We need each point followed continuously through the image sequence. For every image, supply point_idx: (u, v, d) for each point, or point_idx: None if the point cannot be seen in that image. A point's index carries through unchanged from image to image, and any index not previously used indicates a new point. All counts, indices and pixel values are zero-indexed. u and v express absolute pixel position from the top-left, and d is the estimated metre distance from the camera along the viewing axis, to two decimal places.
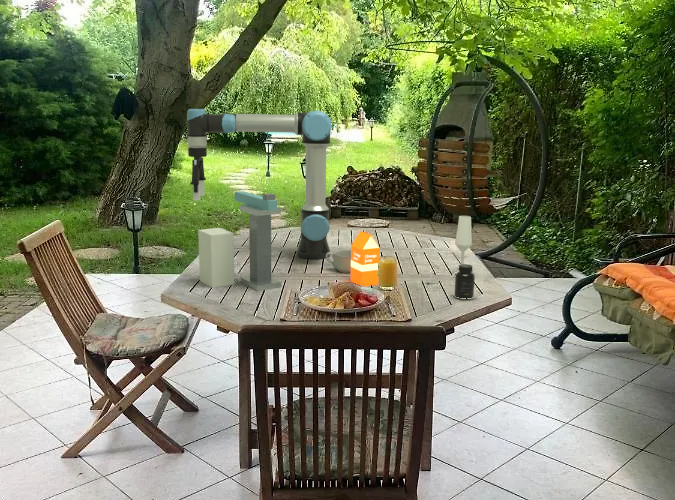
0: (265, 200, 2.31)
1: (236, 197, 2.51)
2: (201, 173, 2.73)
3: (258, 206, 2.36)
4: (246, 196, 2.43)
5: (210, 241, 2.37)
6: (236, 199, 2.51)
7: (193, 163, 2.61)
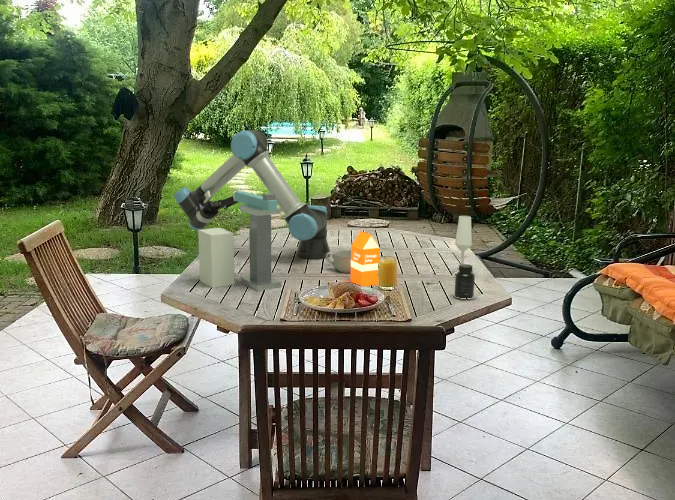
0: (265, 200, 2.31)
1: (236, 197, 2.51)
2: (226, 199, 2.74)
3: (258, 206, 2.36)
4: (246, 196, 2.43)
5: (210, 241, 2.37)
6: (236, 199, 2.51)
7: (197, 209, 2.71)
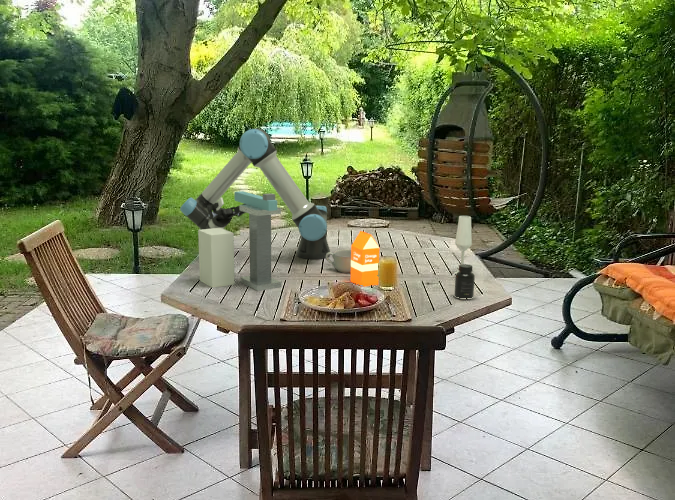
0: (265, 200, 2.31)
1: (236, 197, 2.51)
2: None
3: (258, 206, 2.36)
4: (246, 196, 2.43)
5: (210, 241, 2.37)
6: (236, 199, 2.51)
7: (209, 216, 2.60)
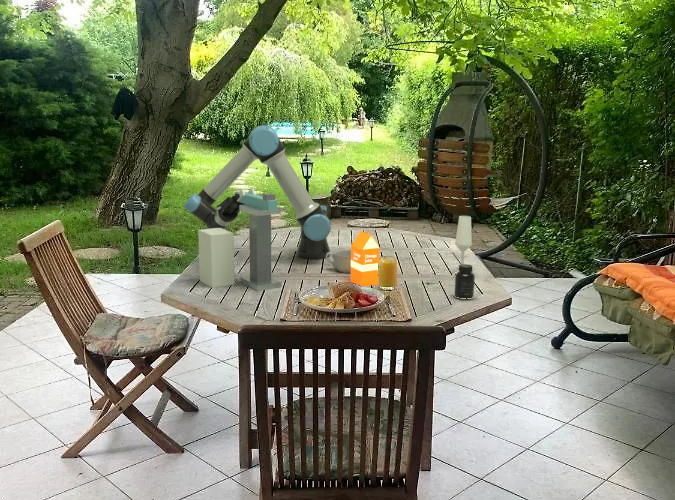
0: (265, 200, 2.31)
1: None
2: None
3: (258, 206, 2.36)
4: (246, 196, 2.43)
5: (210, 241, 2.37)
6: None
7: (219, 209, 2.54)
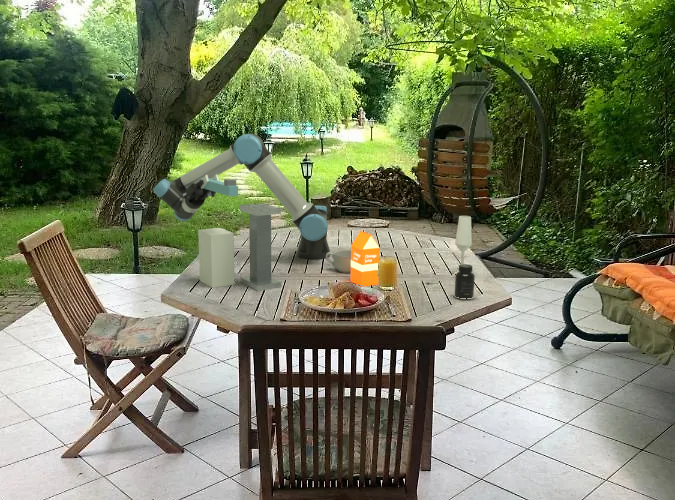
0: (226, 185, 2.33)
1: None
2: None
3: (220, 192, 2.38)
4: (209, 182, 2.45)
5: (210, 241, 2.37)
6: None
7: (185, 195, 2.56)
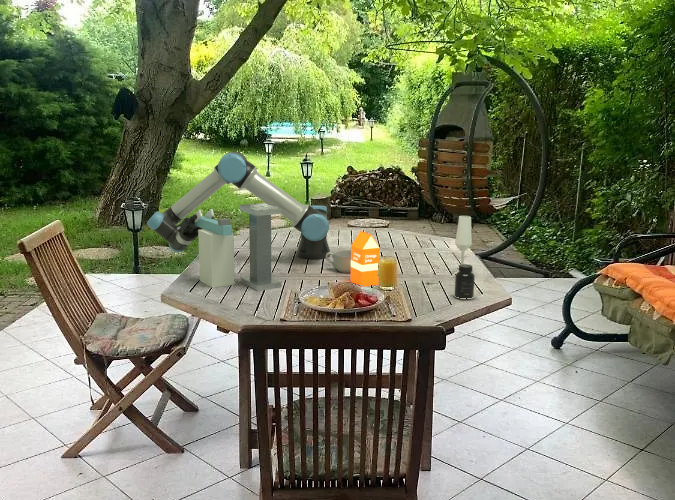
0: (220, 225, 2.34)
1: (195, 222, 2.54)
2: None
3: (214, 231, 2.39)
4: (204, 221, 2.46)
5: (210, 241, 2.37)
6: (195, 224, 2.54)
7: (179, 229, 2.57)
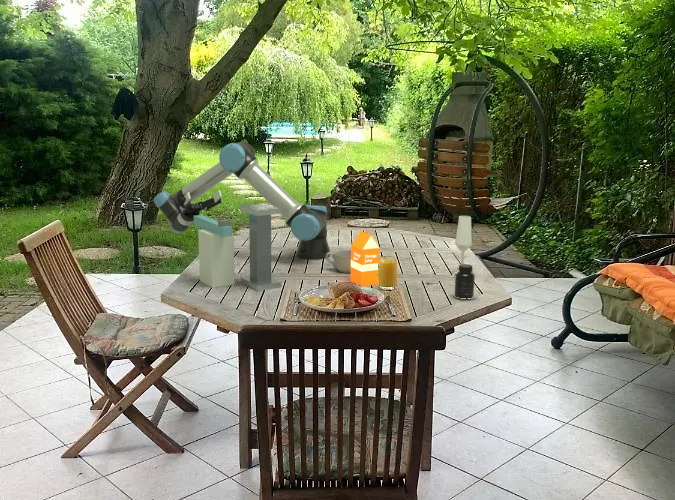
0: (220, 226, 2.34)
1: (195, 221, 2.54)
2: (207, 201, 2.73)
3: (214, 231, 2.39)
4: (204, 221, 2.46)
5: (210, 241, 2.37)
6: (195, 223, 2.54)
7: (177, 211, 2.70)
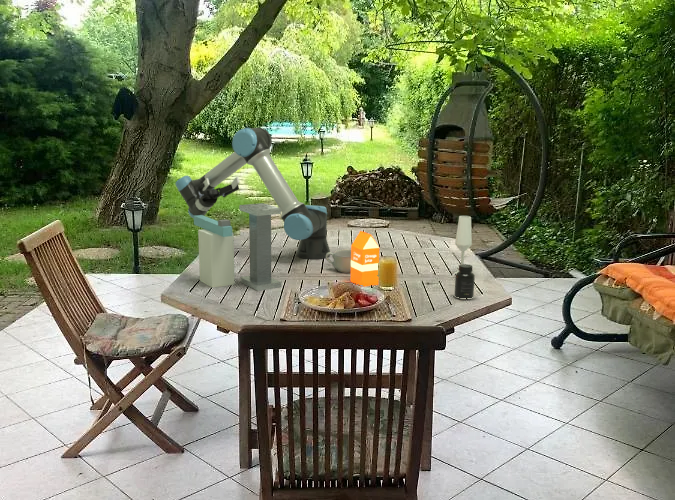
0: (220, 226, 2.34)
1: (195, 221, 2.54)
2: (225, 187, 2.80)
3: (214, 231, 2.39)
4: (204, 221, 2.46)
5: (210, 241, 2.37)
6: (195, 223, 2.54)
7: (196, 197, 2.77)
